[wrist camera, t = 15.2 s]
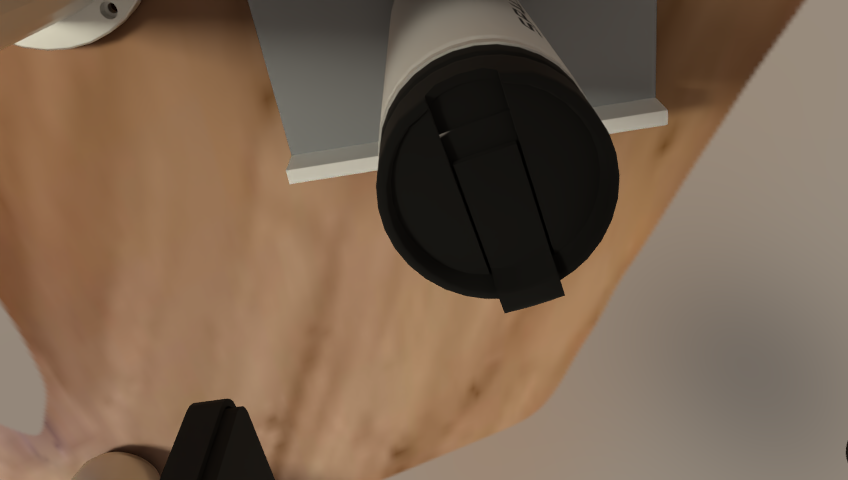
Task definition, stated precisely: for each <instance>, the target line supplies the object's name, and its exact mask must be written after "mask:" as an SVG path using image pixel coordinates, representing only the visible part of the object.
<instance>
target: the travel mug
mask: <svg viewBox="0 0 848 480" xmlns="http://www.w3.org/2000/svg"><path fill="white" fill-rule="evenodd" d="M378 156H379V161H378V172H377V183H376V190H377V201H378V209H379V213H380V216H381V219H382V223H383V226H384V229H385V231H386V233H387V235H388V237H389V238H390V240H391V242H392V244H393V246H394V248H395V249H396V250H397V251H398V253H399V254H400V255H401V256H402V257H403V259H404V260H405V261H406V262H407V263H408V265H409V266H411V267H412V268H413V269H414V270H416V271H417V272H418V273H419V274H421V275H422V276H423V277H424V278H425V279H427V280H429V281H431V282H433V283H435V284H436V285H438V286H440V287H442V288H444V289H446V290H449V291H452V292H455V293H458V294H462V295H465V296H470V297H477V298H484V299H500V302H501V304H502V307H503V310H504V312H505V313H508V312H511V311H515V310H520V309H523V308H527V307H531V306H534V305H538V304H541V303H544V302H547V301H550V300H553V299H556V298H559V297H562V296H565V294H564V291H563V288H562V284H561V281H560V280H561V279H563V278H564V277H566V276H567V275H568V274H570V273H571V272H573V271H574V270H575V269H577V268H578V267H579V266H580V265H581V264H582V263H583V262H584V261H586V260H587V259H588V257H589V256H590V255H591V254H592V252H593V251H594V250H595V248H596V247H597V246H598V244H599V243H600V242H601V241H602V239H603V237H604V235H605V233H606V231H607V229H608V227H609V225H610V223H611V221H612V218H613V214H614V211H615V207H616V203H617V200H618V190H619V169H618V162H617V155H616V151H615V148H614V146H613V143H612V140H611V138H610V135H609V132H608V130H607V129H606V127H605V126H604V124H603V123H602V121H601V120H600V118H599V116H598V115H597V113H596V112H595V110H594V109H593V108H592V106H591V105H590V103H589V102H588V101H587V98H586V96H585V94H584V93H583V91H582V89H581V88H580V86H579V85H578V83H577V82H576V80H575V79H574V77H573V76H572V75H571V73H570V72H569V70H568V69H567V67H566V66H565V65H564V63H563V62H562V61H561V59H560V58H559V56H558V55H557V54H556V52H555V51H554V49H553V48H552V47H551V45H550V44H549V43H548V41H547V40H546V38H545V37H544V36H543V34H542V33H541V31H540V30H539V29H538V27H537V26H536V25H535V23H534V22H533V20H532V19H531V18H530V16H529V15H528V13H527V12H526V11H525V9H524V8H523V7H522V5H521V4H520V2H519V1H518V0H394V2H393V5H392V9H391V18H390V28H389V38H388V48H387V58H386V69H385V79H384V89H383V99H382V109H381V119H380V130H379V140H378Z"/></svg>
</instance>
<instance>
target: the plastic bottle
mask: <svg viewBox="0 0 848 480" xmlns="http://www.w3.org/2000/svg"><path fill="white" fill-rule="evenodd" d="M72 480H160V475H159V473H158V471H157V470H156V468H155V467H154V466H153V465H152V464H151V463H149V462H148V461H147V460H145V459H143V458H141V457H139V456H137V455H133V454H130V453H125V452H108V453H104V454H101V455H99V456H97V457H95V458H93V459H91V460H89V461H87V462H86V463H85V464H84V465H83V466H82V467H81V468H80V470H79V471H78V472H77V473H76V474H75V476H74V477H73V478H72Z"/></svg>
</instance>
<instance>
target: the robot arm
mask: <svg viewBox="0 0 848 480" xmlns="http://www.w3.org/2000/svg"><path fill="white" fill-rule="evenodd" d="M140 2H141V0H0V50H2V49H4V48H6V47H8V46H11V45H16V46H20V47H23V48H30V49H38V50H47V51H50V50H64V49H72V48H76V47H79V46H83V45H86V44H90V43H93V42H94V41H96V40H98V39H100V38H102V37H104V36H106V35H108V34H109V33H111V32H112V31H113V30H115V29H116V28H117V27H119V26H120V25H122V24H123V23H124V22H125V21H126V20H127V19H128V18H129V16H130V15H131V14H132V13H133V12H134V11H135V10H136V8H137V7H138V6H139V4H140ZM111 3H113V4H114V5H115V6H116V8H117V11H118V12H117V11H114V10H113V9H112V8H111ZM846 457H847V461H848V442H847V447H846ZM160 480H275V479H274V476H273V474H272V471H271V469H270V466H269V464H268V461H267V459H266V456H265V454H264V451H263V449H262V446H261V444H260V441H259V439H258V436H257V434H256V431H255V429H254V426H253V424H252V421H251V419H250V416H249V414H248V412H247V410H246V408H245V407H243V406H241V407H236V406H235V404H234V402H233V401H232V400H231V399H221V400H214V401H206V402H199V403H193V404H192V405H190V406H189V408H188V410H187V412H186V414H185V417H184V419H183V422H182V424H181V427H180V430H179V432H178V435H177V437H176V440H175V442H174V445H173V447H172V450H171V452H170V455H169V457H168V460H167V462H166V465H165V468H164V470H163V473H162V475H161V478H160Z"/></svg>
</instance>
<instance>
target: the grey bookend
mask: <svg viewBox="0 0 848 480" xmlns="http://www.w3.org/2000/svg"><path fill="white" fill-rule="evenodd" d="M518 1H519V2H520V4H521V5H522V7H523V8H524V9H525V11H526V12H527V13H528V15H529V16H530V18H531V19H532V20H533V22H534V23H535V25H536V26H537V27H538V29H539V30H540V31H541V33H542V34H543V36H544V37H545V38H546V40H547V41H548V43H549V44H550V45H551V47H552V48H553V49H554V51H555V52H556V54H557V55H558V56H559V58H560V59H561V61H562V62H563V63H564V65H565V66H566V67H567V69H568V70H569V72H570V73H571V75H572V76H573V77H574V79H575V80H576V82H577V83H578V85H579V86H580V88H581V89H582V91H583V93H584V94H585V96H586V98H587V101H588V102H589V103H590V105H591V106H592V108H593V109H594V110H595V112H596V113H597V115H598V116H599V118H600V120H601V121H602V123H603V124H604V126H605V127H606V129H607V130H608V132H609V134H612V133H618V132H624V131H631V130H637V129H644V128H650V127H656V126H663V125H668V110H667V109H666V108H665V107H664V105H663V104H662V103H661V102H660V101H659V100H658V99H657V98H656V22H657V0H518ZM393 2H394V0H248V3H249V7H250V10H251V14H252V17H253V21H254V24H255V28H256V32H257V35H258V39H259V42H260V46H261V49H262V53H263V56H264V60H265V63H266V67H267V70H268V74H269V77H270V81H271V84H272V88H273V91H274V95H275V99H276V102H277V106H278V109H279V113H280V116H281V120H282V123H283V127H284V130H285V134H286V137H287V141H288V144H289V148H290V151H291V155H292V156H291V159H290V161H289V164H288V167H287V169H286V172H287V176H288V179H289V183H290V184H294V183H300V182H306V181H313V180H319V179H325V178H332V177H338V176H345V175H351V174H357V173H364V172H370V171H376V170H378V161H379V156H378V140H379V130H380V119H381V109H382V99H383V89H384V79H385V69H386V58H387V48H388V38H389V28H390V18H391V9H392V5H393Z"/></svg>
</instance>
